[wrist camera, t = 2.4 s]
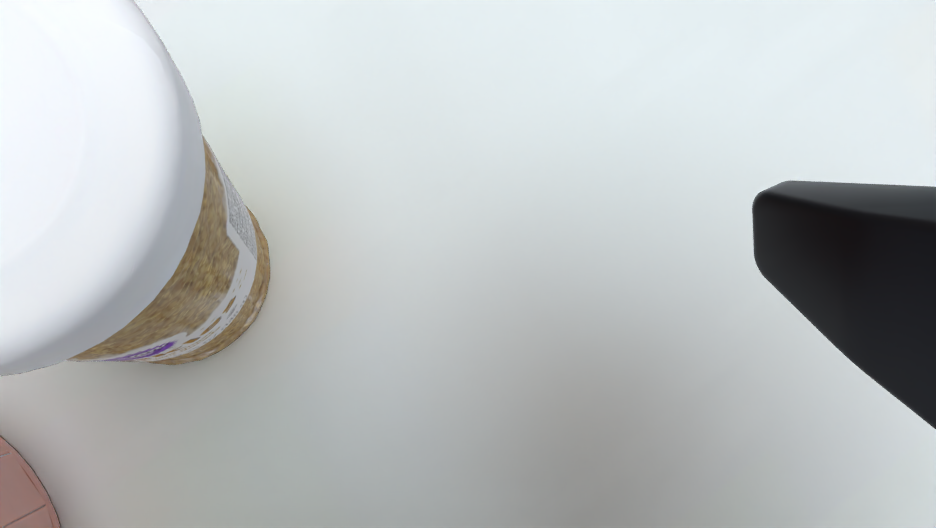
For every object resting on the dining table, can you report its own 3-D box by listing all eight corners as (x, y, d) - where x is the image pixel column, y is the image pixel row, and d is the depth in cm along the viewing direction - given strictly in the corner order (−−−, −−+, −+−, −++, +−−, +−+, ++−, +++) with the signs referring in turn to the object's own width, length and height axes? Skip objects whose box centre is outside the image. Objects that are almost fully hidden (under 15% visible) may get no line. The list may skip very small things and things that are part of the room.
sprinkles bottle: (124, 396, 21) (-258, 474, 7) (46, 219, 21) (-468, -16, 7) (305, 315, 21) (257, 254, 8) (229, 146, 22) (58, -185, 8)
